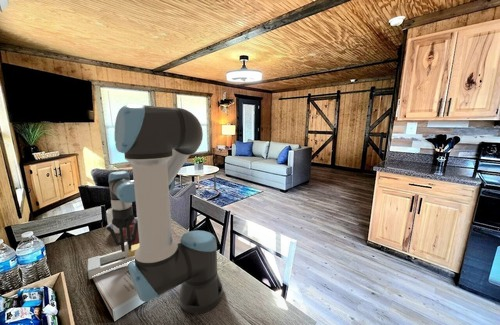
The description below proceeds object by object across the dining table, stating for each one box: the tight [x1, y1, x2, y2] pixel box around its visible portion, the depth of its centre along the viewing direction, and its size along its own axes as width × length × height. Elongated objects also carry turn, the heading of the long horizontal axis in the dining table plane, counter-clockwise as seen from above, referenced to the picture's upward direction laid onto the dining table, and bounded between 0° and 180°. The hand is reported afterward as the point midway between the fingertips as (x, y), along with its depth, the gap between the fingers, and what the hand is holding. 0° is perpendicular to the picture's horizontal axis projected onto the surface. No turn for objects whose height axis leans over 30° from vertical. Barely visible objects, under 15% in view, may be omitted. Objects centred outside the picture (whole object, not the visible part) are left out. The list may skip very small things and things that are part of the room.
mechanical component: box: [123, 220, 139, 246], centre depth 106 cm, size 12×10×10 cm
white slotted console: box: [87, 249, 135, 280], centre depth 92 cm, size 9×21×4 cm, turn 127°
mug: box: [105, 207, 120, 234], centre depth 118 cm, size 15×11×13 cm
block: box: [129, 243, 140, 257], centre depth 96 cm, size 5×5×5 cm
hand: (127, 256), depth 94 cm, fingers closed
